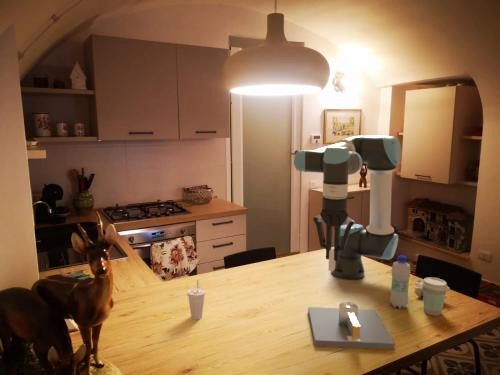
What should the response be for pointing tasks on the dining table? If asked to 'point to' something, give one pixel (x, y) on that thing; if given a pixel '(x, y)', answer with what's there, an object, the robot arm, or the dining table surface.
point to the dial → (349, 318)
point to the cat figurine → (419, 289)
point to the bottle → (400, 282)
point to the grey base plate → (335, 335)
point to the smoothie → (196, 302)
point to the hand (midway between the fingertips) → (331, 269)
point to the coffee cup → (433, 295)
